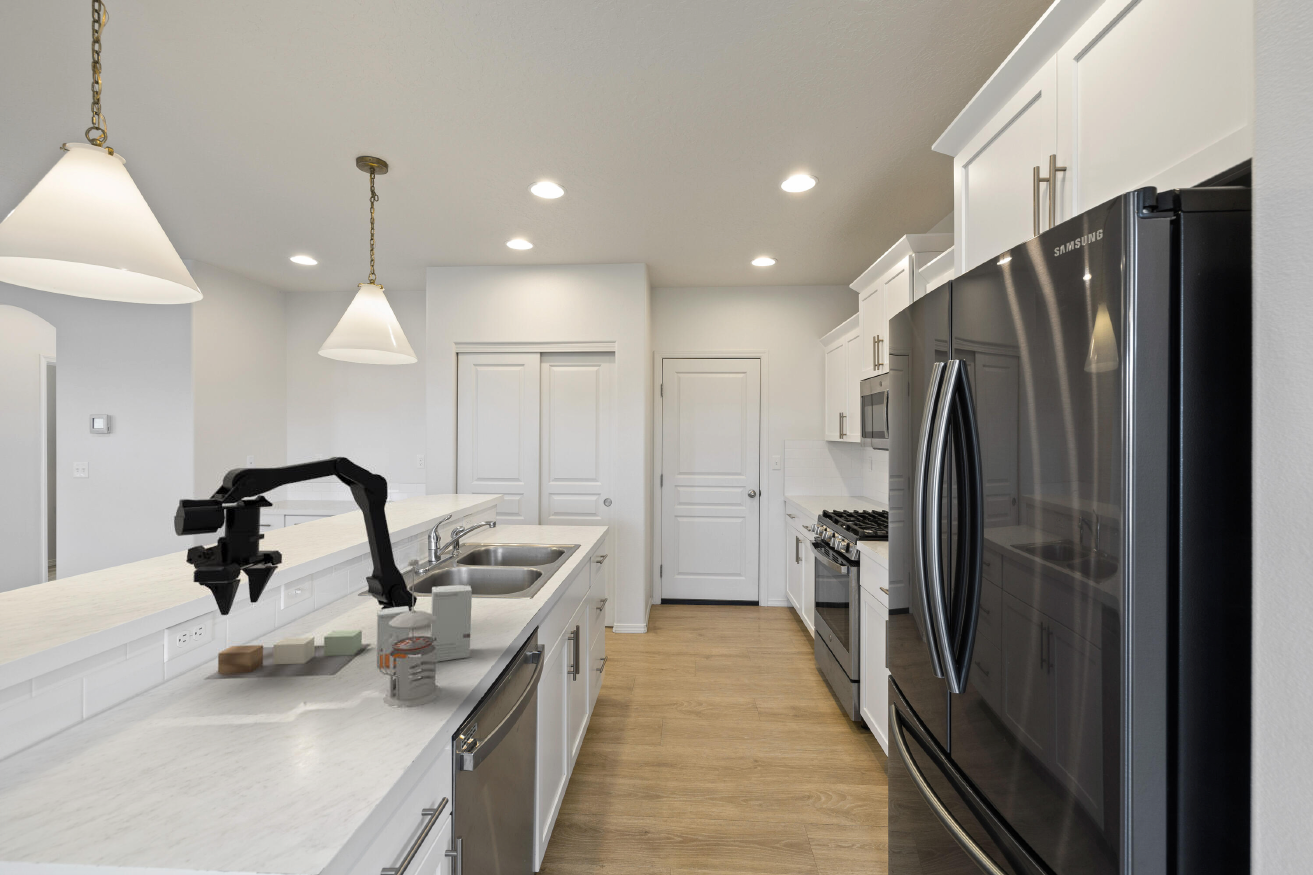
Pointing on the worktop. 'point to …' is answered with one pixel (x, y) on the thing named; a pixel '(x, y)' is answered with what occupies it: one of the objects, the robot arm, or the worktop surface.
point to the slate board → (295, 665)
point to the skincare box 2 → (451, 621)
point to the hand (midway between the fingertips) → (239, 608)
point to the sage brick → (342, 642)
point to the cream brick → (293, 650)
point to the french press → (411, 660)
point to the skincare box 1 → (384, 629)
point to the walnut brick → (240, 659)
